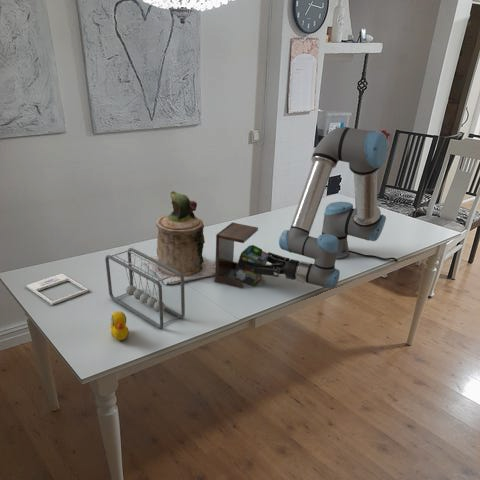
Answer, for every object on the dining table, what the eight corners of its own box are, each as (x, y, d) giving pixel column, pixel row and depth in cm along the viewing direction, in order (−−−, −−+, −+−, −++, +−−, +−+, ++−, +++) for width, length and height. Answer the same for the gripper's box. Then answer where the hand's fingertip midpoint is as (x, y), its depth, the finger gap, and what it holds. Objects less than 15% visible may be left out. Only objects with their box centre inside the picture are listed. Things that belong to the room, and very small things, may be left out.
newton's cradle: (109, 298, 171) (104, 253, 161) (132, 289, 177) (128, 245, 168) (161, 331, 154) (159, 283, 145) (185, 319, 161) (184, 273, 152)
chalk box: (261, 277, 191) (273, 247, 182) (252, 286, 184) (264, 255, 175) (241, 267, 193) (252, 237, 184) (232, 276, 186) (243, 244, 177)
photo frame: (62, 272, 183) (88, 288, 173) (62, 275, 184) (88, 291, 174) (26, 284, 174) (51, 302, 164) (26, 287, 174) (52, 305, 164)
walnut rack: (254, 273, 195) (258, 227, 184) (240, 288, 183) (243, 240, 172) (230, 267, 198) (232, 222, 187) (215, 281, 186) (216, 234, 176)
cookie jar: (166, 287, 180) (162, 206, 163) (141, 262, 197) (136, 187, 180) (221, 274, 192) (223, 198, 175) (193, 252, 209) (193, 180, 192)
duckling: (131, 346, 146) (129, 319, 141) (114, 349, 144) (111, 322, 139) (126, 327, 155) (124, 301, 150) (109, 329, 153) (106, 303, 148)
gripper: (288, 291, 171) (232, 277, 178) (305, 268, 188) (253, 257, 195) (290, 272, 167) (233, 259, 174) (307, 251, 184) (254, 240, 191)
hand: (243, 258), depth 185 cm, fingers closed on chalk box, 9 cm apart
